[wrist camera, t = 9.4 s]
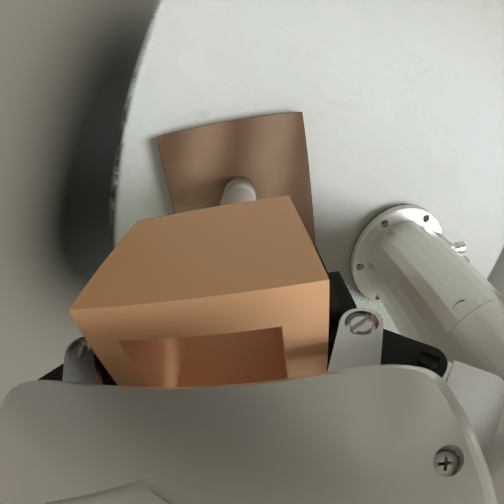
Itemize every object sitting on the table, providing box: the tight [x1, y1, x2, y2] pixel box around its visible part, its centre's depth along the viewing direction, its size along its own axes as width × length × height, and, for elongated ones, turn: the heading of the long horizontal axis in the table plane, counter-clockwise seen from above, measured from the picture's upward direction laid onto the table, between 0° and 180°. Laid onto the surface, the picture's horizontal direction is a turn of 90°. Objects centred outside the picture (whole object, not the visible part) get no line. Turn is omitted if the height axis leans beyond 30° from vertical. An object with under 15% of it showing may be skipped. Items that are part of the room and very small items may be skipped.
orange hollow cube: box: [69, 195, 329, 387], centre depth 10 cm, size 6×6×6 cm
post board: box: [157, 112, 315, 244], centre depth 24 cm, size 13×13×6 cm
